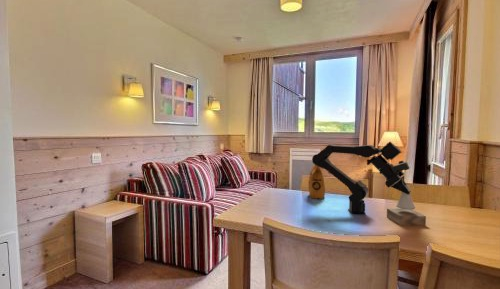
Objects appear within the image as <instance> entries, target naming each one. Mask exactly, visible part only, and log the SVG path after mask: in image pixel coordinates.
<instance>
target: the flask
mask: <svg viewBox="0 0 500 289" xmlns="http://www.w3.org/2000/svg"><path fill="white" fill-rule="evenodd" d="M405 186H406V188H407V189H408V191H409V192H410V191H411V185H408V184H406V185H405ZM395 207H397V209H407V210H415V209H416V206H415V203H414V201H413V198H412V196H411V192H410V194H409V195H408V194H406V193H404V192H401V195H400V198H399V199H398V202H397V204H396V206H395Z"/></svg>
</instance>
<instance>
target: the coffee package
mask: <svg viewBox="0 0 500 289" xmlns="http://www.w3.org/2000/svg"><path fill="white" fill-rule="evenodd" d="M322 169H323V168H321V167H319V166H317V165H315V164H314V165H313V167H312V168H311V170H310V171H309V177H308V193H309V197H310V198H311V199H315V198H317V199H318V198H323V199H324V198H325V195H326V186H325V184H326V183H325V179H324V178H325V177H324V173H323V170H322Z"/></svg>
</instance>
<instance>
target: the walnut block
mask: <svg viewBox="0 0 500 289" xmlns="http://www.w3.org/2000/svg"><path fill="white" fill-rule="evenodd" d="M386 217H387V218H388V219H389V220H391V221H393V222H394V223H395V224H397V225H398V226H426V225H427V224H426V222H427V221H426V219H427V215H425V214H422V213H420V212H418V211H417V210H415V209H412V210H407V209H401V208H386Z"/></svg>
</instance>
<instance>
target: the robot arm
mask: <svg viewBox="0 0 500 289" xmlns="http://www.w3.org/2000/svg"><path fill="white" fill-rule="evenodd" d="M333 153H334V154H335V153H336V154H348V155H355V156H356V155H357V156H360V157H364V158H368V159H366V165H367V166H369V165H373V166H374V168H375V169H376V170H378V172H379V174H380V175H383V177H384V178H385V184H384V185H385V186H386V187H387V188H388V189H389V188H390V187H391V188H393V189H395V190H398V191H399V192H401V193H402V192H404V193H406V194H408V195H409V194H410V195H411V190H410V192H409V191H408V189H407V188H406V186H405V185H407V183H406V181H405V172H404V171H407V170H410V166H409V163H408V162H407V161H404V160H400V161H398V164H395V165H394V164H392V163H389V161H388V160H391V161H392V160H394V159H395V158H396V157H398V156H399V155H400V154H402V150H401V149H400V148H399V147H398V146H397V145H395V144H394V143H393V142H391V141H389V142H387V143H386V144H385V145H384V146H383V147H382V148H381V147H380V148H377V147H375V146H374V145H371V144H365V145H358V146H353V145H352V146H351V145H335V144H329V145H326V146H325V148H323V149H322V150H321V151H319V152H318V153H317V154H314V155H313V156H312V158H311V162H312V163H313V164H314V165H317V166H319V167H321V169H324V170H325V171H326V172H328V173H329V174H331V175H332V176H334V177H335V179H337V180H338V181H339V182H340V183H342V184H343V185H345V187H347V188H348V190H349V191H350V193H351V194H350V195H349V196H348V200H349V201H348V202H349V203H348V208H347V211H348V212H350V214H352V215H366V203H365V200H364V199H365V198H366V197H367V196H368V195H369V193H370V192H369V188H368V187H367V184H365V183H363V182H362V181H361V180H360V179H359V180H358V181H355V180H353V178H351V177H350V176H348V175H347V174H346V173H345V172H343V170H341V169H340V168H338V167H337V166H336V165H334V164H333V163H332V162H331V160H330V159H329V157H330V156H331V155H332V154H333Z"/></svg>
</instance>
